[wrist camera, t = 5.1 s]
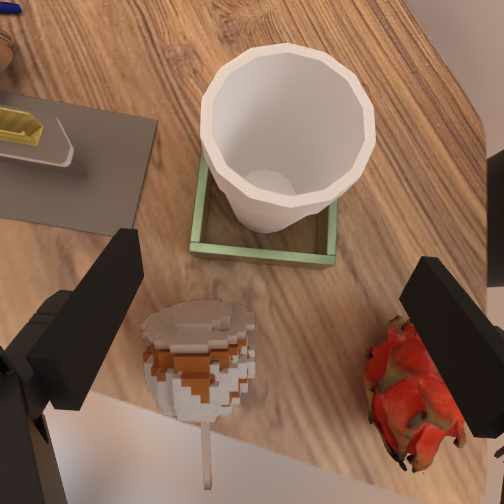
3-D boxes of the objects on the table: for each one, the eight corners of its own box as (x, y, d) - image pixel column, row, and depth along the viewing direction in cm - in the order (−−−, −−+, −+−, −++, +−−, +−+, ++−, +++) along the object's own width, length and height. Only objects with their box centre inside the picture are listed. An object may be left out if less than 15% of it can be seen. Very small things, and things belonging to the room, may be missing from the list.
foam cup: (332, 197, 29) (409, 114, 16) (273, 270, 27) (307, 244, 15) (256, 138, 30) (273, 13, 17) (194, 206, 28) (161, 127, 15)
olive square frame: (329, 150, 30) (341, 131, 26) (323, 269, 28) (335, 265, 24) (208, 137, 29) (205, 115, 26) (194, 257, 27) (188, 251, 24)
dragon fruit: (411, 305, 29) (370, 421, 29) (365, 286, 24) (316, 427, 24) (523, 342, 22) (472, 495, 22) (491, 327, 17) (425, 524, 17)
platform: (-30, 85, 28) (-107, 22, 22) (157, 120, 29) (135, 68, 23) (-73, 203, 26) (-173, 172, 20) (129, 238, 27) (95, 219, 21)
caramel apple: (254, 292, 25) (256, 446, 28) (162, 293, 25) (173, 446, 28) (254, 335, 17) (256, 541, 20) (122, 336, 17) (142, 541, 20)
